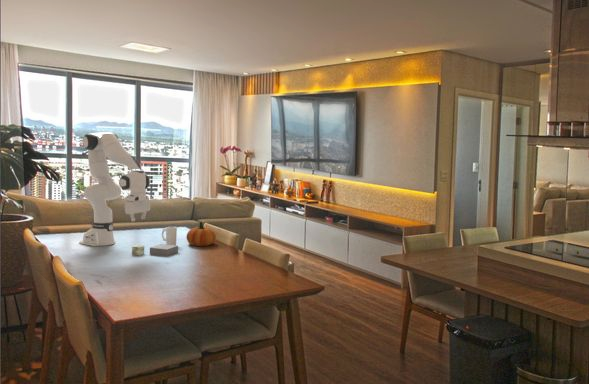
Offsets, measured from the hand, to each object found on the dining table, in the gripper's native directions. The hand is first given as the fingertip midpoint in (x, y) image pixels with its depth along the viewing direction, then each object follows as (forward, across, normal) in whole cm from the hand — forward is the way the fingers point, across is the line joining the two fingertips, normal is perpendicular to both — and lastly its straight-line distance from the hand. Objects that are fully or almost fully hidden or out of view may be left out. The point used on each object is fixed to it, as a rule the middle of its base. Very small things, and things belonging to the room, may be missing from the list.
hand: (138, 220), depth 297 cm
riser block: (+20, -9, +12) cm, 25 cm away
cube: (+21, 0, 0) cm, 21 cm away
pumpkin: (+21, -42, +19) cm, 50 cm away
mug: (+21, -30, +2) cm, 36 cm away
